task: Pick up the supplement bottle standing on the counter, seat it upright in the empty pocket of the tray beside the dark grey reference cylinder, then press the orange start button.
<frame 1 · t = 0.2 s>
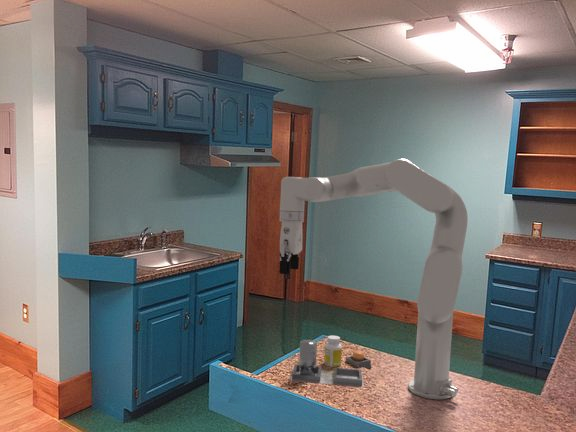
hand: (289, 271, 154), 30 cm above the countertop, tool pointing down, fingers open, 9 cm apart
button base: (357, 366, 159), on the countertop
supplement bottle: (332, 368, 157), on the countertop
start button: (358, 355, 159), point 4 cm above the countertop, slide at 0.0 cm
reference cylinder: (307, 375, 147), resting on tray
tray: (327, 380, 146), on the countertop
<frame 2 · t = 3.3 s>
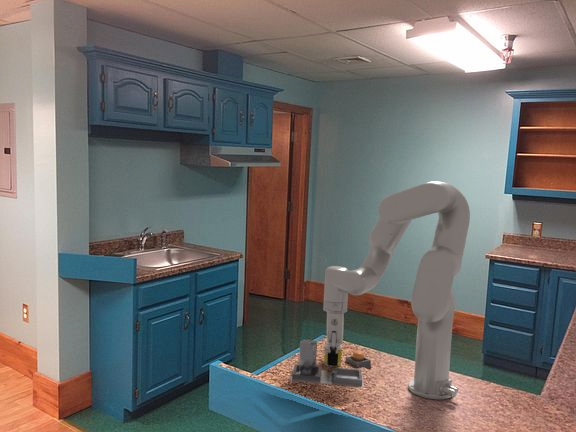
hand: (332, 361, 157), 2 cm above the countertop, tool pointing down, fingers closed on supplement bottle, 5 cm apart
supplement bottle: (332, 367, 157), on the countertop, touching gripper
everything else where it was.
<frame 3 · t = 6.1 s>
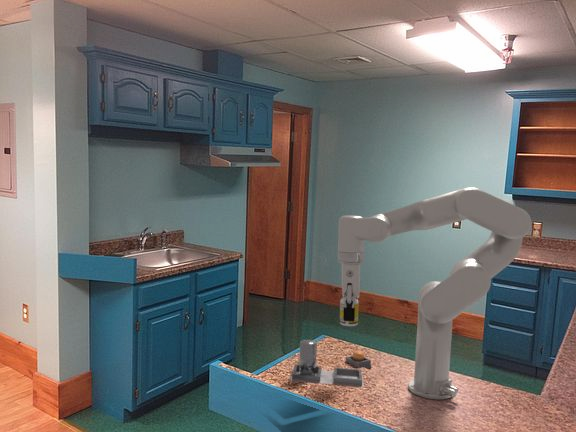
hand: (349, 317, 146), 19 cm above the countertop, tool pointing down, fingers closed on supplement bottle, 5 cm apart
supplement bottle: (348, 324, 147), point 17 cm above the countertop, touching gripper
everything else where it was.
when the fingers open (4 cm above the countertop, at t = 9.2 s): supplement bottle stays where it is, resting on tray.
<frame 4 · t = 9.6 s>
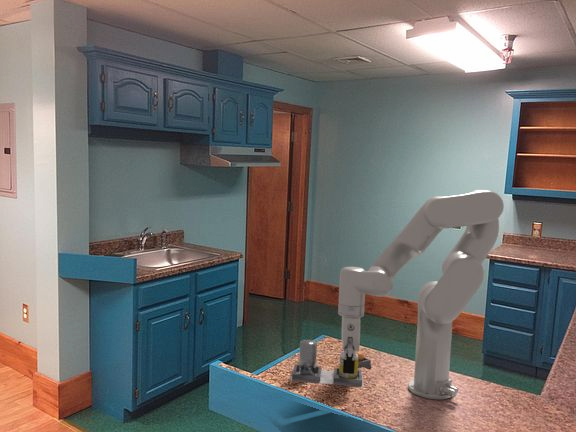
hand: (348, 366, 145), 5 cm above the countertop, tool pointing down, fingers open, 9 cm apart
supplement bottle: (347, 379, 146), point 1 cm above the countertop, touching tray
everything else where it was.
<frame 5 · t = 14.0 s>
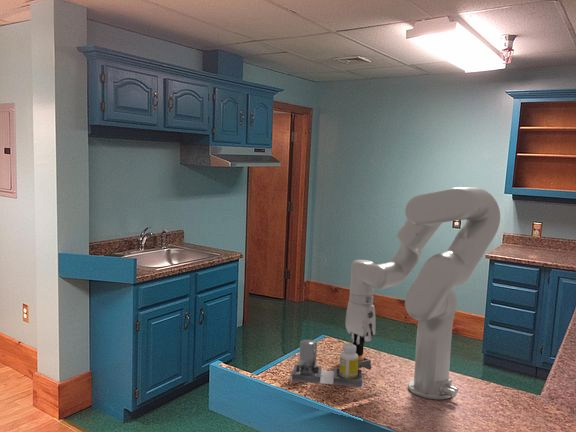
hand: (357, 354, 159), 4 cm above the countertop, tool pointing down, fingers closed
start button: (358, 358, 159), point 3 cm above the countertop, slide at 0.9 cm, touching gripper
everything else where it was.
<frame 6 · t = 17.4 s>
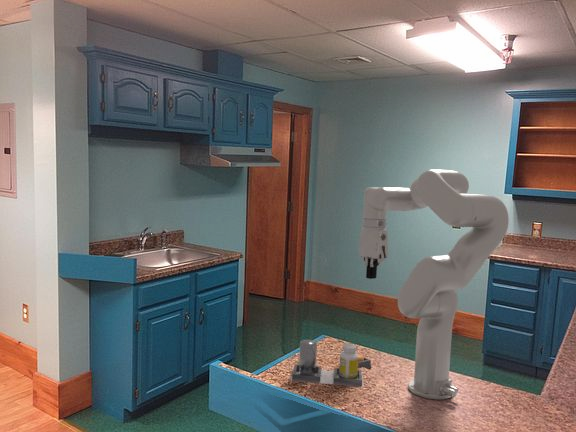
hand: (371, 278, 167), 27 cm above the countertop, tool pointing down, fingers closed
start button: (358, 359, 159), point 2 cm above the countertop, slide at 1.2 cm
everything else where it was.
at the end: supplement bottle 0.2 cm from the target spot, point 1.0 cm above the countertop; supplement bottle tilted 0°; start button slide at 1.2 cm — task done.
